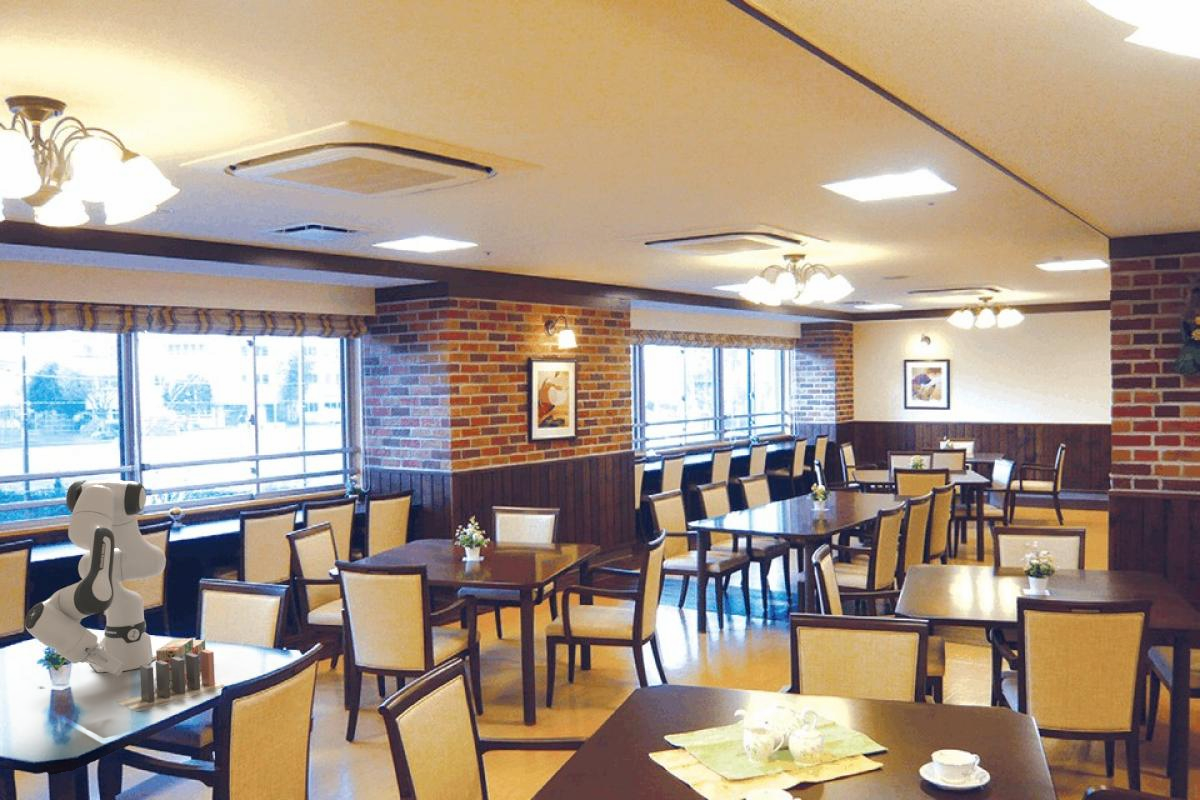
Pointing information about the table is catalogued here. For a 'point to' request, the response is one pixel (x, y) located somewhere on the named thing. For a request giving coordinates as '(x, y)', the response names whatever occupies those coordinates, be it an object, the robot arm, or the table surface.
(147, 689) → the domino
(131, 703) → the domino board
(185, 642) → the stack of blocks
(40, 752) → the table surface
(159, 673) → the domino
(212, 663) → the domino
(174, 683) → the domino
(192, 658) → the domino
